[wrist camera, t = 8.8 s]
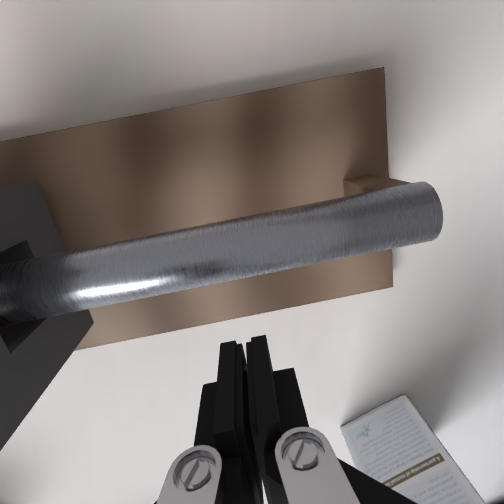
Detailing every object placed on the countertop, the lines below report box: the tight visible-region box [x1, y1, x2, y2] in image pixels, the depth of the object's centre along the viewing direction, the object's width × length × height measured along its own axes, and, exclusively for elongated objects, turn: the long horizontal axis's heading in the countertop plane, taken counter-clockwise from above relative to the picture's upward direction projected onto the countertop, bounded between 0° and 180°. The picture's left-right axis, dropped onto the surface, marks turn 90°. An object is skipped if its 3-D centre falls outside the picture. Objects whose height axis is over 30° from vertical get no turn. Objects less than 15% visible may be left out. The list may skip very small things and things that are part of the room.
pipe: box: [0, 182, 443, 330], centre depth 13 cm, size 24×3×3 cm, turn 101°
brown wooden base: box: [0, 67, 411, 351], centre depth 15 cm, size 26×12×6 cm, turn 101°
